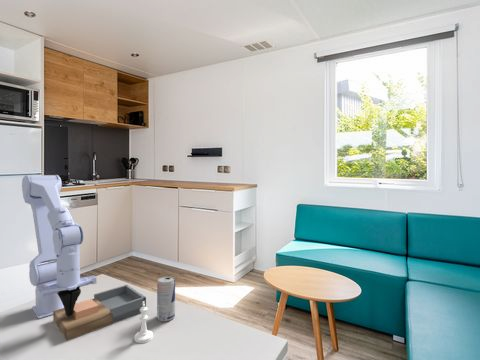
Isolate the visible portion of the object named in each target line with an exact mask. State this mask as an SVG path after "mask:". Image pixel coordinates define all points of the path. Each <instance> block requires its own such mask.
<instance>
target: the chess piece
mask: <svg viewBox="0 0 480 360" xmlns="http://www.w3.org/2000/svg"><path fill="white" fill-rule="evenodd" d="M142 305H143V307H142V308H140V312H141V313H140V316H139V320H141V327H140V331H137V332H136V334H134V338H133V341H134V342H135V343H137V344H145V343H148V342H150V341H151V340H152V339H153V338H154V332H153V331H152V330H148V327H147V321H146V320H147V319H148V318H149V315H147V312H148V307H147V306H146V307H145V301H143V303H142Z"/></svg>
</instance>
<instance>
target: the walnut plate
mask: <svg viewBox="0 0 480 360" xmlns="http://www.w3.org/2000/svg"><path fill="white" fill-rule="evenodd" d="M91 299H92V300H93V301H94V302H95V303H96V304H97V305H98V312H97V313H94V314H91V315H88V316H85V317H82V318H79V319H75V317H74V316H73V315H70V316H67V315H66V314H65V309H64V308H62V309H58V310H55V311H53V314H52V316H53V319H52V320H53V322H54V324H55V326H56V327H57V328H58V330H59V331H60V332H61V333H62V335H63V336H64V338H65V340H66V341H67V342H68V341H71V340H73V339H75V338H78V337H81V336H83V335H86V334H89V333H91V332H93V331H97V330H99V329H102V328H105V327H107V326H110V325H113V324H114V323H112V322H113V319H111V318H113V316H112V315H113V314H112V315H111V313H110V310H108V309H107V308H106V307H105V306H104V305H103V304H102V303H101V302H99V301H98V300H97V299H94V298H91ZM111 320H112V321H111Z"/></svg>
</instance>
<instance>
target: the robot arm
mask: <svg viewBox="0 0 480 360" xmlns="http://www.w3.org/2000/svg"><path fill="white" fill-rule="evenodd" d="M21 180H22V181H21V189H22V190H21V191H22V198H23V201H24V203H26V204H28V205H30V207H31V211H32V217H33V218H32V219H33V224H34V231H35V236H36V237H35V238H36V244H37V251H38V254H37V255H36V256H35V257H33V259H32V260H30V263H29V267H28V269H29V272H28V274H29V277H28V278H29V282H30V284H31V285H32V286H34V287H35V305H33V306H32V307H31V309H32V311H33V312H34V314H35V315H36V317H37V319H42V318H45V317H48V316H53V311H55V310H58V309H62V308H64V309H65V314H66V315H67V316H70V315H73V310H74V306H75V304H76V303H77V301H78V298H79V297H80V295H81V294H82V293H81V292H82V290H81V287H85V286H88V285H96V284H98V283H97V277H96V276H95V275H90V276H84V277H81V265H80V264H81V263H80V262H81V257H80V256H81V253H80V248H81V247H80V245H81V244H83V242H84V231H83V228H82V226H81V225H80V224H78V222H75V221H74V219H73V217H72V214H71V212H70V209H68V208H67V207H65V206H63V202H62V200H61V197H60V196H61V195H60V193H61V190H62V188H63V187H62V186H63V183H62V182H63V181H62V178H61V177H60V175H58V174H54V175H52V174H50V175H48V174H47V175H44V174H43V175H38V174H37V175H29V174H25V175H24V176H23V177H22V179H21Z"/></svg>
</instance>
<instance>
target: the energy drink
mask: <svg viewBox="0 0 480 360" xmlns="http://www.w3.org/2000/svg"><path fill="white" fill-rule="evenodd" d="M156 287H157V289H156V290H157V291H156V300H157V301H156V304H157V305H156V317H157V320H158V321H160V322H169V321H171V320H173V319H174V318H175V316H176V279H175V277H174V276H169V275H167V276H166V275H164V276H161V277H159V278H158V279H157V283H156Z"/></svg>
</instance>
